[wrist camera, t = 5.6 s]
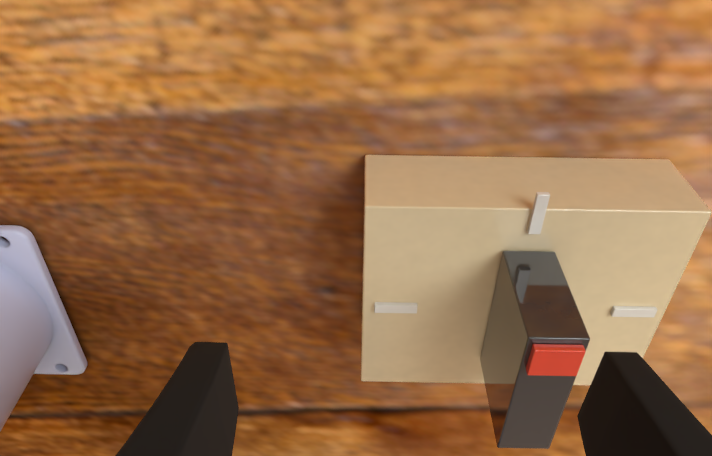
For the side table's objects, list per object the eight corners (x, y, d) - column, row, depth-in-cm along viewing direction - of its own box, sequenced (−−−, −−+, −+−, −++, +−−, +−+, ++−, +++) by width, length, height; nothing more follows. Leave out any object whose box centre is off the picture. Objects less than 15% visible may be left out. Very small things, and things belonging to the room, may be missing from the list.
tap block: (361, 332, 24) (360, 395, 22) (364, 137, 19) (364, 192, 16) (599, 336, 24) (626, 400, 22) (675, 141, 18) (724, 197, 16)
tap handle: (524, 359, 20) (551, 456, 17) (479, 358, 20) (498, 455, 17) (555, 250, 17) (594, 346, 14) (502, 250, 17) (530, 345, 14)
